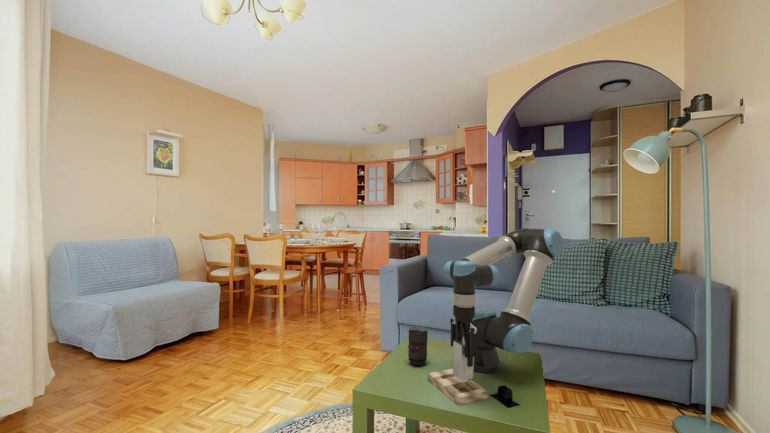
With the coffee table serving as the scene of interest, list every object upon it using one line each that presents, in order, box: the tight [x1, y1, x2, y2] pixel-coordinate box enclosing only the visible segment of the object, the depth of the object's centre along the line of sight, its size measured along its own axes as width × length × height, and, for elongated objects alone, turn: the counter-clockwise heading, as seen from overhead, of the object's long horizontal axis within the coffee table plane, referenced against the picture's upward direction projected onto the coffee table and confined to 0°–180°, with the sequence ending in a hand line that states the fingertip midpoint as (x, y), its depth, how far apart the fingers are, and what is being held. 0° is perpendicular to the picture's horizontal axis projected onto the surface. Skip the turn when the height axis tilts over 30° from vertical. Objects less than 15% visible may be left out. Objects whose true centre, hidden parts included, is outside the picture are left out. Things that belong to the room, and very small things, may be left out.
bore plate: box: [427, 368, 489, 406], centre depth 127 cm, size 12×20×2 cm, turn 23°
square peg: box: [452, 338, 474, 381], centre depth 122 cm, size 5×5×12 cm
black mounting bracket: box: [489, 384, 521, 409], centre depth 119 cm, size 12×7×5 cm, turn 23°
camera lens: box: [407, 325, 429, 368], centre depth 149 cm, size 8×8×15 cm
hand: (463, 371), depth 122 cm, fingers closed on square peg, 5 cm apart
